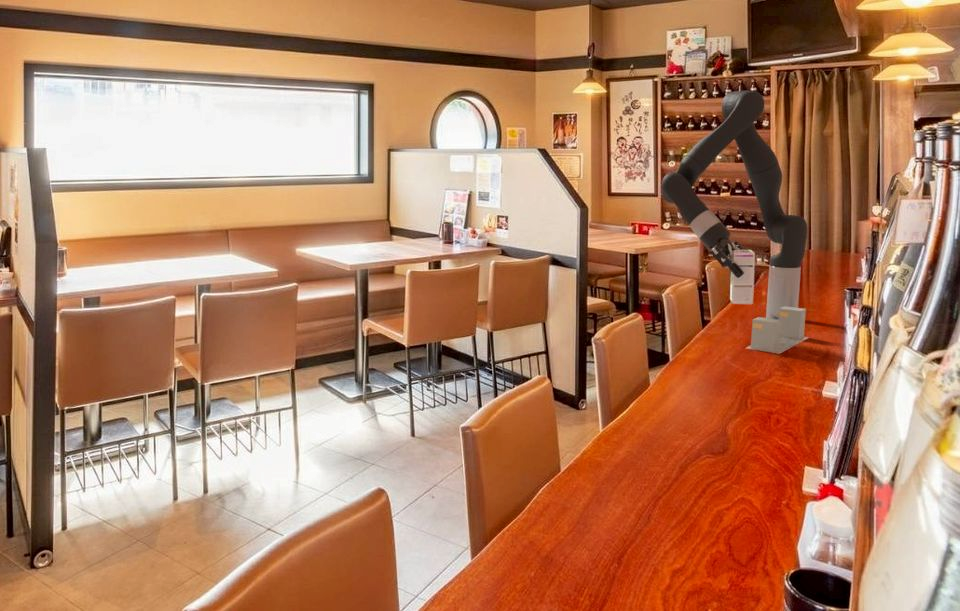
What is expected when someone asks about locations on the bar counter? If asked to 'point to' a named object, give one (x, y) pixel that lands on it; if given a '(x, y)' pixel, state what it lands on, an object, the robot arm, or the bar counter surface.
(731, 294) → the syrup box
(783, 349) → the grey flat base plate
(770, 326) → the block
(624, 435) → the bar counter surface
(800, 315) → the block
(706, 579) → the bar counter surface
